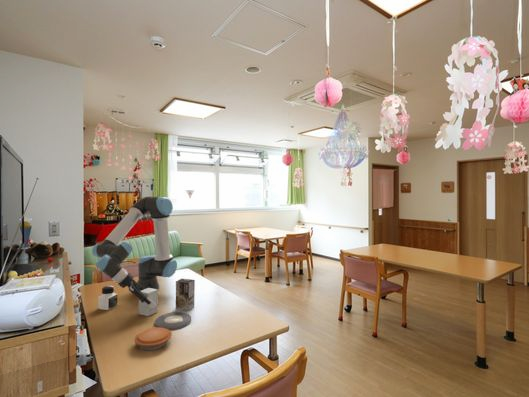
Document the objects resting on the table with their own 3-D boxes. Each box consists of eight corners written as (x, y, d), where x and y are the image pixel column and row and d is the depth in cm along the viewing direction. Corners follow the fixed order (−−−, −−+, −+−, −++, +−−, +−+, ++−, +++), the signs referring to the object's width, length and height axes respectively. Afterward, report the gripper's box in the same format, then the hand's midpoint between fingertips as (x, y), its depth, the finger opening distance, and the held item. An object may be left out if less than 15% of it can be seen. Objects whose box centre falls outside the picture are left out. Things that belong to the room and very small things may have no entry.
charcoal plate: (167, 312, 159) (167, 310, 159) (197, 316, 156) (197, 314, 155) (147, 327, 142) (147, 324, 142) (180, 331, 138) (180, 329, 138)
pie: (128, 354, 118) (128, 342, 118) (142, 335, 134) (142, 325, 134) (165, 353, 119) (166, 341, 119) (175, 335, 135) (175, 324, 135)
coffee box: (194, 307, 168) (195, 279, 168) (188, 311, 162) (188, 282, 162) (181, 304, 171) (182, 277, 171) (175, 308, 165) (175, 281, 165)
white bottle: (108, 310, 161) (108, 289, 161) (97, 309, 163) (97, 288, 162) (117, 305, 168) (117, 285, 168) (107, 304, 170) (107, 284, 169)
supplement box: (158, 311, 160) (158, 289, 160) (147, 316, 154) (148, 293, 154) (148, 309, 164) (148, 287, 163) (137, 314, 157) (138, 291, 157)
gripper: (118, 277, 163) (148, 301, 169) (115, 290, 142) (149, 316, 148) (129, 267, 165) (158, 291, 171) (127, 278, 144) (160, 305, 150)
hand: (154, 303), depth 160 cm, fingers closed on supplement box, 10 cm apart
